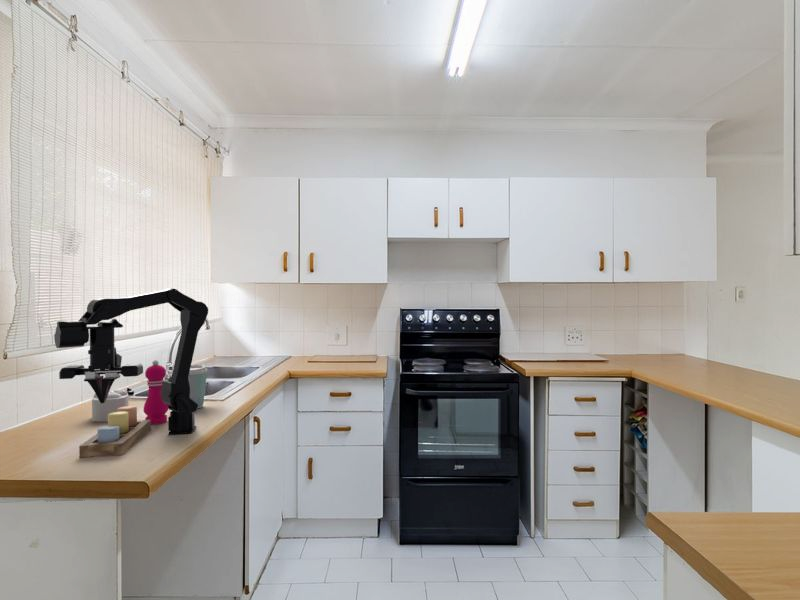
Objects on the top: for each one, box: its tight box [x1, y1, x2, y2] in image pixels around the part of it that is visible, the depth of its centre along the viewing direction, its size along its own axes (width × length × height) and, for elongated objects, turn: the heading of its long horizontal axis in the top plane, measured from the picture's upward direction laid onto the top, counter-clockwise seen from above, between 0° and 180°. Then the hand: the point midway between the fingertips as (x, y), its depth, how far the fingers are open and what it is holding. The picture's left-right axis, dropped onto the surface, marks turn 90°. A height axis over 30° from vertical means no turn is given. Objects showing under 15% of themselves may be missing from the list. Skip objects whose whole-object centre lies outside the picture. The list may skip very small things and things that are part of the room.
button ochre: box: [107, 412, 129, 434], centre depth 138 cm, size 5×5×5 cm
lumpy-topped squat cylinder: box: [91, 389, 129, 422], centre depth 166 cm, size 10×13×9 cm
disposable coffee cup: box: [188, 364, 209, 409], centre depth 179 cm, size 11×11×15 cm
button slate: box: [96, 425, 119, 443], centre depth 131 cm, size 5×5×5 cm
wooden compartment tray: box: [78, 419, 152, 458], centre depth 138 cm, size 10×24×3 cm, turn 11°
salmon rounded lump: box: [117, 405, 138, 427], centre depth 144 cm, size 5×5×5 cm
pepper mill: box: [143, 360, 169, 425], centre depth 159 cm, size 7×7×20 cm
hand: (102, 402), depth 133 cm, fingers closed
